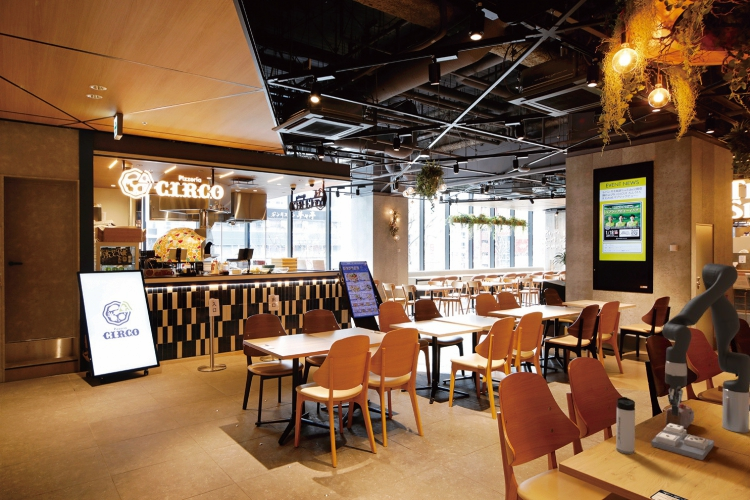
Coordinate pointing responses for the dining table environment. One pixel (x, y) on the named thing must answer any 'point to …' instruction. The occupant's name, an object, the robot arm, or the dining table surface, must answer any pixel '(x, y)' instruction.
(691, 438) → the button three
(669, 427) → the button two
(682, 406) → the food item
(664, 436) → the button one
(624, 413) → the travel mug
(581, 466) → the dining table surface
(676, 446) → the button board
